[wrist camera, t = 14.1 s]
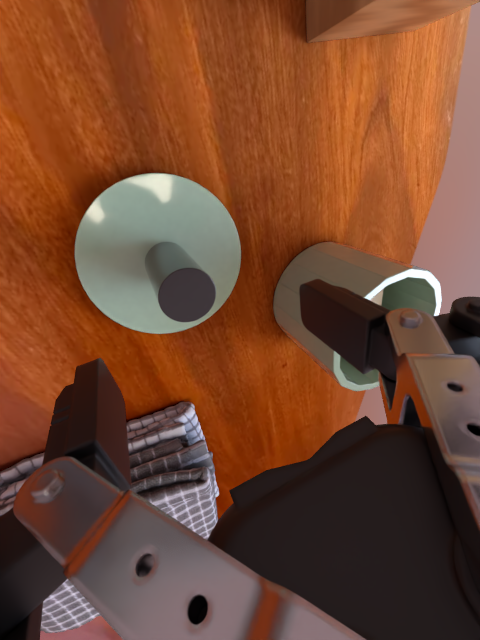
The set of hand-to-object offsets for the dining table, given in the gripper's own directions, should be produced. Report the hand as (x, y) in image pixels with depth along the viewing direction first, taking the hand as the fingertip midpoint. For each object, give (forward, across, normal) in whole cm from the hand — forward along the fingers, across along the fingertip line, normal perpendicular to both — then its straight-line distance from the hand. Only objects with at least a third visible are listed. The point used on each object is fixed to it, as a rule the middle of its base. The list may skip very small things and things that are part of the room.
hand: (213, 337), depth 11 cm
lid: (+11, 0, 0) cm, 11 cm away
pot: (+11, -13, +7) cm, 19 cm away
